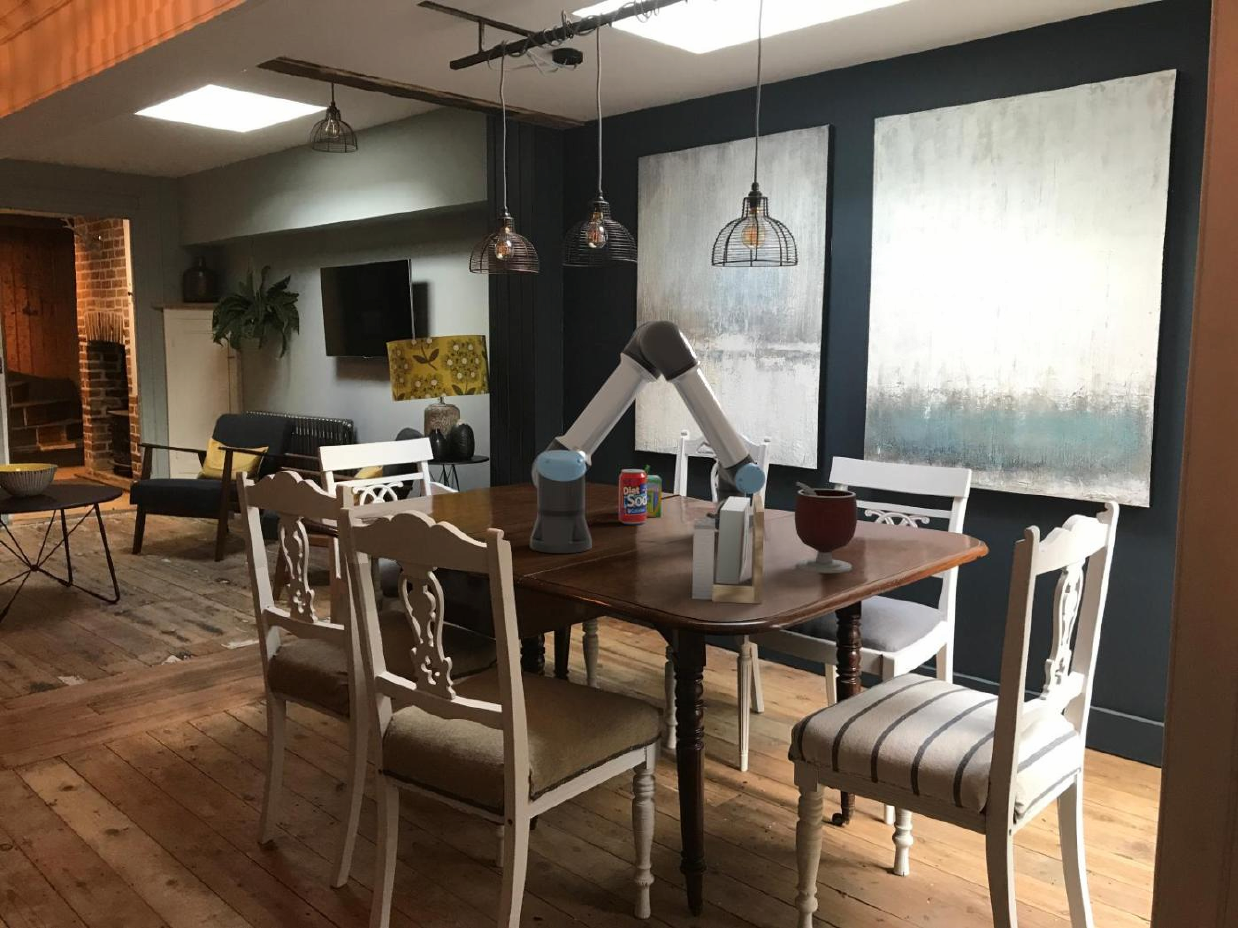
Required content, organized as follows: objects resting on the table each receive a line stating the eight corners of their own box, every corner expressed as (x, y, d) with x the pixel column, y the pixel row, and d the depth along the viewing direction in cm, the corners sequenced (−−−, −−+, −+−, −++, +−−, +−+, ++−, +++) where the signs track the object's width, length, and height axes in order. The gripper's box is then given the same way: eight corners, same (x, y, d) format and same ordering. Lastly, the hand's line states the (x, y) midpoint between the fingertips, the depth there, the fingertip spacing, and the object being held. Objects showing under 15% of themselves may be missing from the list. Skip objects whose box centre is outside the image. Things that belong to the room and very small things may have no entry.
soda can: (630, 519, 287) (631, 467, 285) (652, 522, 282) (652, 470, 281) (612, 523, 281) (613, 470, 279) (634, 526, 276) (635, 472, 274)
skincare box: (741, 585, 209) (743, 510, 207) (715, 584, 210) (717, 509, 208) (748, 564, 229) (750, 496, 227) (725, 563, 230) (726, 495, 228)
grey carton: (692, 598, 197) (693, 524, 195) (693, 589, 205) (695, 518, 203) (712, 599, 197) (714, 525, 195) (713, 589, 205) (715, 518, 203)
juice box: (626, 512, 299) (626, 463, 298) (656, 512, 300) (657, 463, 299) (630, 517, 290) (631, 467, 288) (661, 517, 291) (662, 467, 290)
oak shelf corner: (712, 601, 195) (714, 510, 193) (714, 576, 217) (716, 494, 215) (761, 603, 194) (764, 511, 192) (758, 577, 216) (760, 495, 214)
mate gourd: (827, 558, 237) (830, 474, 235) (868, 570, 225) (871, 482, 222) (775, 564, 230) (777, 478, 227) (813, 576, 217) (817, 485, 215)
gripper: (756, 529, 256) (759, 547, 233) (705, 527, 257) (703, 545, 234) (757, 500, 255) (760, 515, 232) (706, 499, 256) (704, 514, 233)
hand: (732, 530), depth 233 cm, fingers closed
